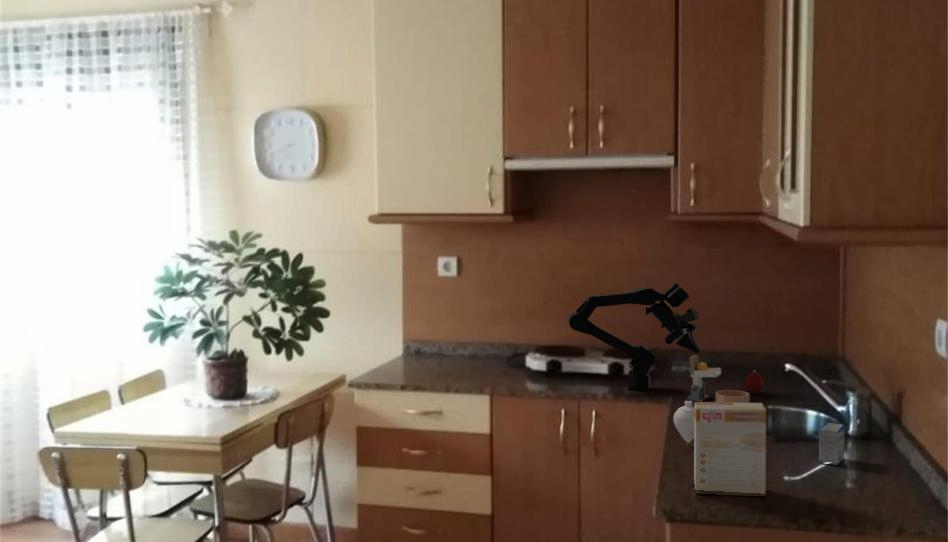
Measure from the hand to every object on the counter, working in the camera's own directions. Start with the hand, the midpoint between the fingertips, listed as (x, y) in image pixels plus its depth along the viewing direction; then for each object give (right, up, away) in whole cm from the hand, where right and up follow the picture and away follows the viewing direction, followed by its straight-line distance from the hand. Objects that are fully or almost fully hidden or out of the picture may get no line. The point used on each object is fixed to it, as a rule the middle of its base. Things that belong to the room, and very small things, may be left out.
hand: (698, 352), depth 308 cm
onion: (+18, -14, -2) cm, 22 cm away
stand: (-2, -14, -9) cm, 17 cm away
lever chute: (0, -11, -10) cm, 15 cm away
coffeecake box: (-18, -22, -101) cm, 105 cm away
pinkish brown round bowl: (+7, -15, -14) cm, 22 cm away
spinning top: (-18, -19, -64) cm, 69 cm away
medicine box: (+14, -20, -79) cm, 82 cm away
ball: (-1, -4, -10) cm, 11 cm away
